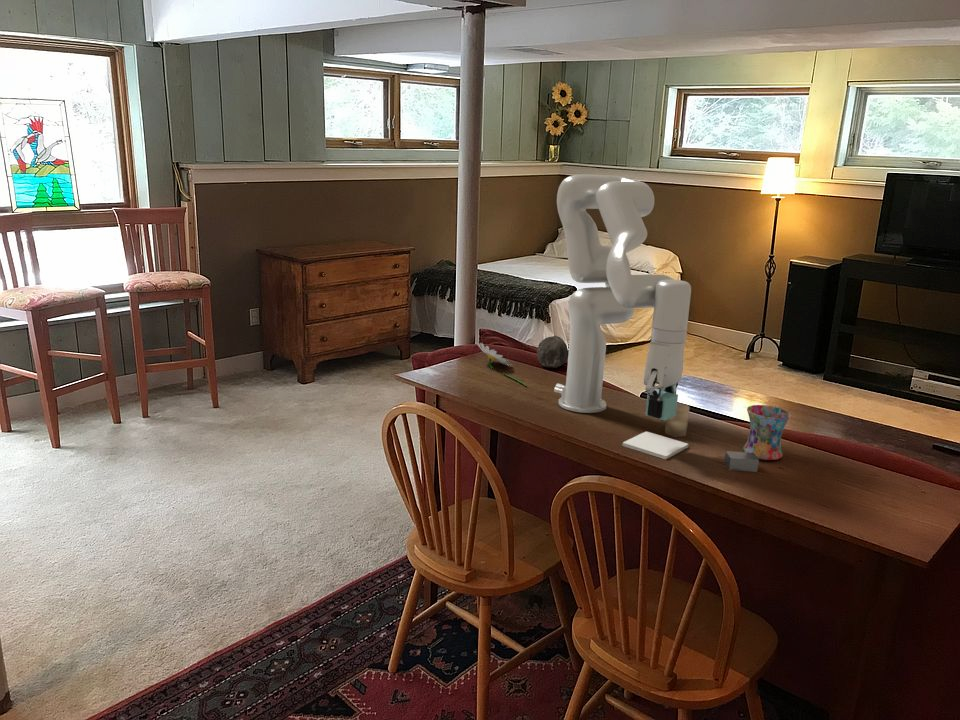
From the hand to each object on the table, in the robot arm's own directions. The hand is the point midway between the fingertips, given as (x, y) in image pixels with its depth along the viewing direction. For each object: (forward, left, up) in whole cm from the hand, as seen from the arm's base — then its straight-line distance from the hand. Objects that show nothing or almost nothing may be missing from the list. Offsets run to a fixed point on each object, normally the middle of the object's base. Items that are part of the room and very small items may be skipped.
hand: (660, 413), depth 172 cm
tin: (+19, +3, -9) cm, 21 cm away
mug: (+20, +15, -8) cm, 26 cm away
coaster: (0, 0, -8) cm, 8 cm away
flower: (-62, +20, -9) cm, 66 cm away
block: (0, 0, -1) cm, 1 cm away
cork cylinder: (-1, +12, -8) cm, 15 cm away
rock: (-58, +39, -9) cm, 70 cm away
